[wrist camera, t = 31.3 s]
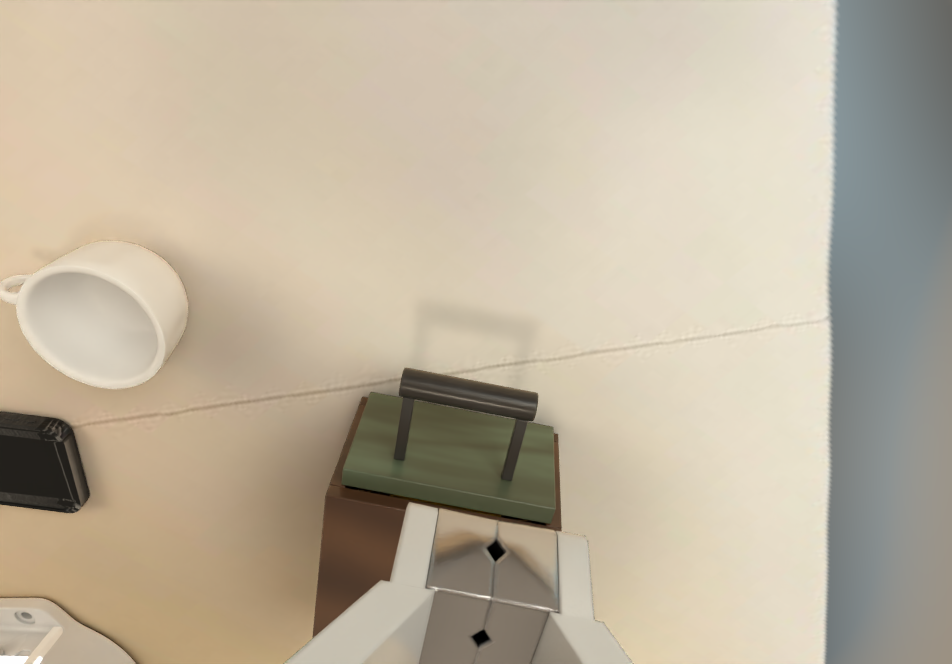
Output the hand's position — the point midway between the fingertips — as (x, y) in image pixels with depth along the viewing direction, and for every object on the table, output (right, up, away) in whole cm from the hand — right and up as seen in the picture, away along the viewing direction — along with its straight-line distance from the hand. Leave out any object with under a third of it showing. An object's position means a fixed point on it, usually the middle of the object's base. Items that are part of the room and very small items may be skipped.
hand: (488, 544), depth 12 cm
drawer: (-2, -5, +33) cm, 34 cm away
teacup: (-21, +7, +30) cm, 37 cm away
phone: (-35, -5, +38) cm, 52 cm away
